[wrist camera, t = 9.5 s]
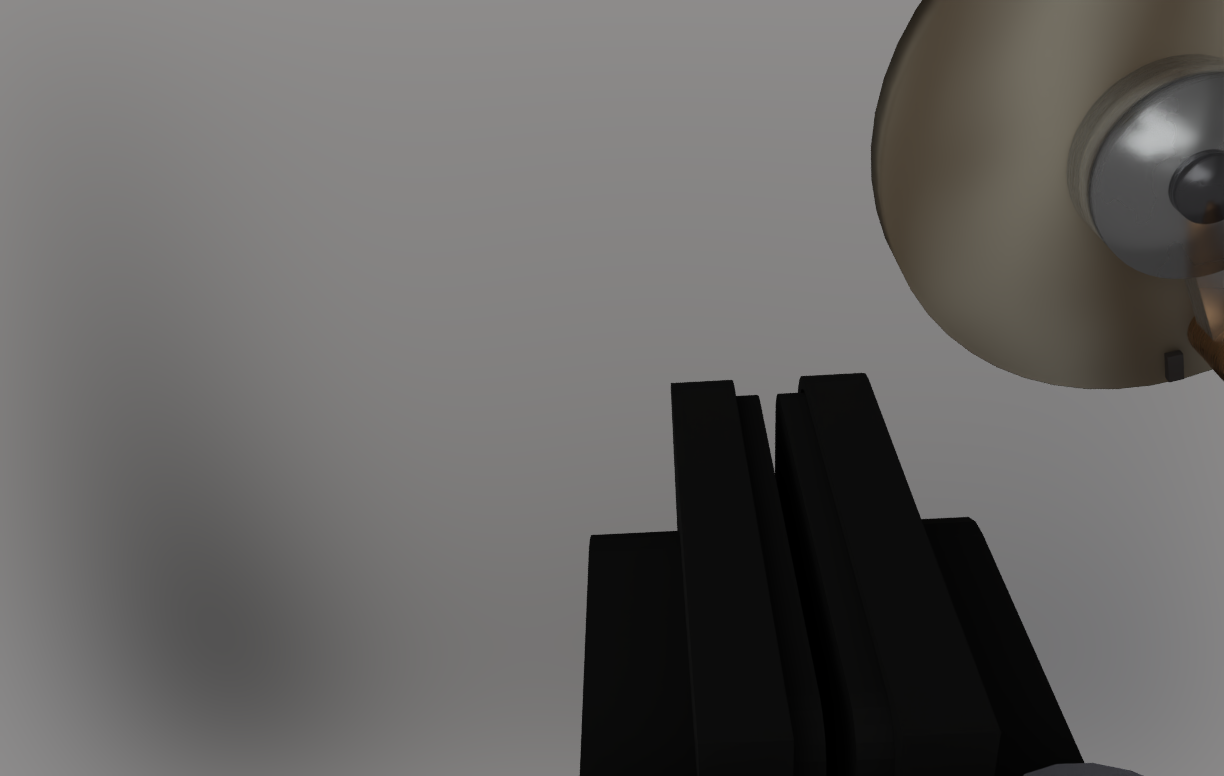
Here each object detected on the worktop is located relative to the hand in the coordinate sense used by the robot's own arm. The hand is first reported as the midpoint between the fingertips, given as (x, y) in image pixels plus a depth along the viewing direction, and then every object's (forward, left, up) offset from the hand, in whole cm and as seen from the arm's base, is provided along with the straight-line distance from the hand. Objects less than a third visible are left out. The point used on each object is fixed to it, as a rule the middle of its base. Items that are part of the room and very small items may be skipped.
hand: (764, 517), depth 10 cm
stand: (-14, +8, -27) cm, 32 cm away
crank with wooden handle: (-15, +10, -25) cm, 31 cm away
